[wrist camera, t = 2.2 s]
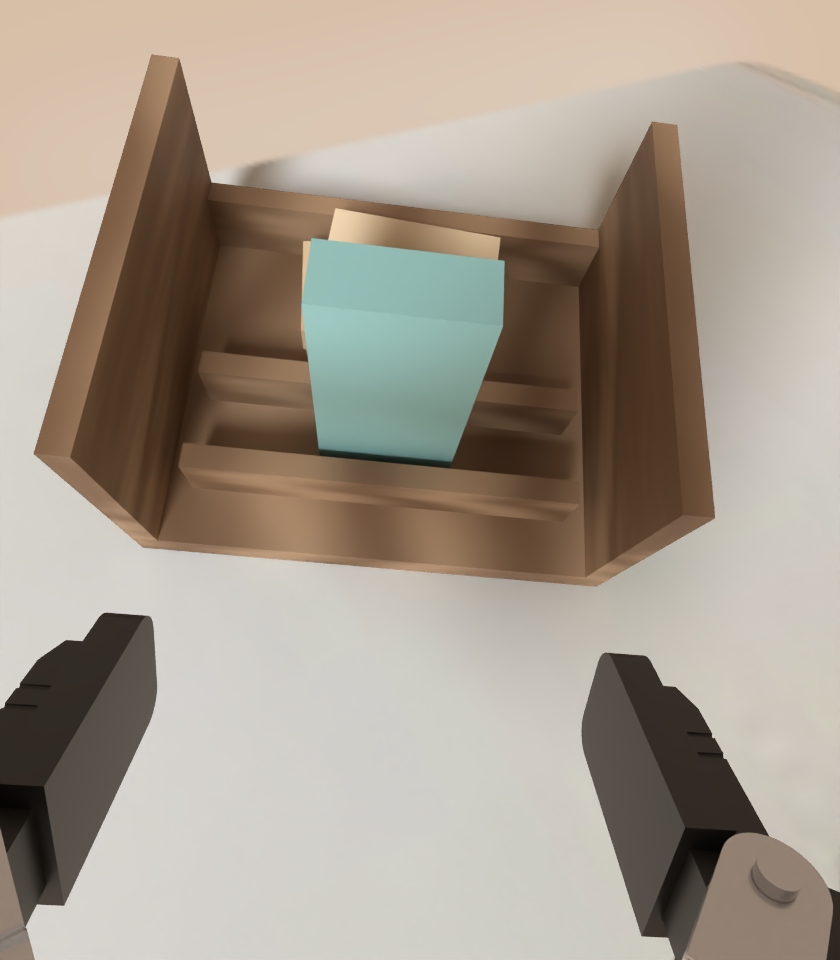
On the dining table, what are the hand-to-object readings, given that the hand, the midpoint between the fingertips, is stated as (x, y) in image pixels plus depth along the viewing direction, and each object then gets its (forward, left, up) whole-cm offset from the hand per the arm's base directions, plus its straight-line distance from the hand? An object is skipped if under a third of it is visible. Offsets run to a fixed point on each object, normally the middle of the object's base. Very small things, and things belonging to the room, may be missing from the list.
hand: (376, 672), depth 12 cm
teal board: (0, -11, -15) cm, 18 cm away
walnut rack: (0, -14, -16) cm, 21 cm away
